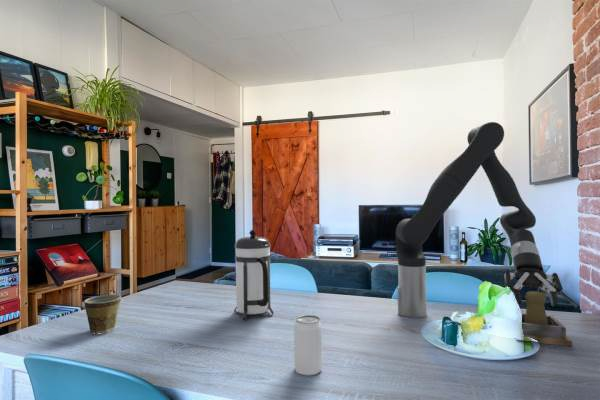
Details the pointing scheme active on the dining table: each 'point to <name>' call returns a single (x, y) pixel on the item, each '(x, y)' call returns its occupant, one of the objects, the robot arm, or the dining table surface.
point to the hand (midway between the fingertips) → (536, 304)
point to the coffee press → (252, 275)
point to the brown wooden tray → (547, 331)
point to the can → (308, 345)
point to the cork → (535, 308)
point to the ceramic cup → (102, 312)
